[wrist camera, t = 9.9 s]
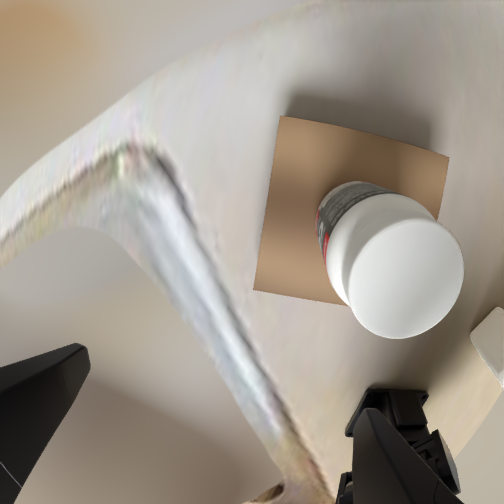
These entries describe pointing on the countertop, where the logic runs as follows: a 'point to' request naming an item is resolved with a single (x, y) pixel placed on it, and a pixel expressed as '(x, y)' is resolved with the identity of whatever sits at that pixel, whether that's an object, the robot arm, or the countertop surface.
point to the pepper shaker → (491, 342)
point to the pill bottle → (388, 259)
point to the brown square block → (319, 185)
